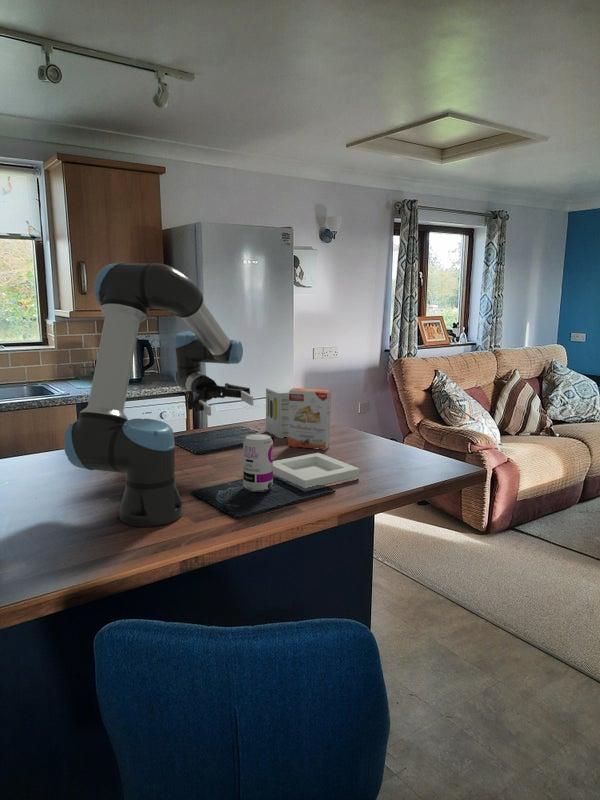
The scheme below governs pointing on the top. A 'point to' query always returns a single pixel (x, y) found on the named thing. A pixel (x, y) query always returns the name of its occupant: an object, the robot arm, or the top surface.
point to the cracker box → (309, 418)
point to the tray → (313, 470)
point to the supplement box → (278, 411)
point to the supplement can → (258, 462)
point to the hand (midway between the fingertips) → (231, 406)
